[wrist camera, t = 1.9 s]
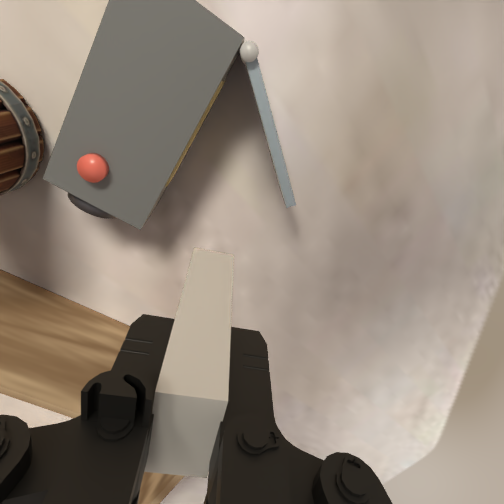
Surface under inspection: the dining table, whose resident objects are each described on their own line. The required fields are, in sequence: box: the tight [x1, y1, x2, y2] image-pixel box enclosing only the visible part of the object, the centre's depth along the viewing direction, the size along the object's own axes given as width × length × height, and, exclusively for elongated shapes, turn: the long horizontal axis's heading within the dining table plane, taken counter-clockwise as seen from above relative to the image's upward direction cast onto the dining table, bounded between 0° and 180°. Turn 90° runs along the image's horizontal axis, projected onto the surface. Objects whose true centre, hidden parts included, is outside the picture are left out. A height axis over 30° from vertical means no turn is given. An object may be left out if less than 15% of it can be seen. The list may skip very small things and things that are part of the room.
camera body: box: [43, 0, 244, 230], centre depth 27 cm, size 17×8×7 cm, turn 147°
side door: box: [240, 41, 296, 208], centre depth 27 cm, size 12×1×6 cm, turn 17°
